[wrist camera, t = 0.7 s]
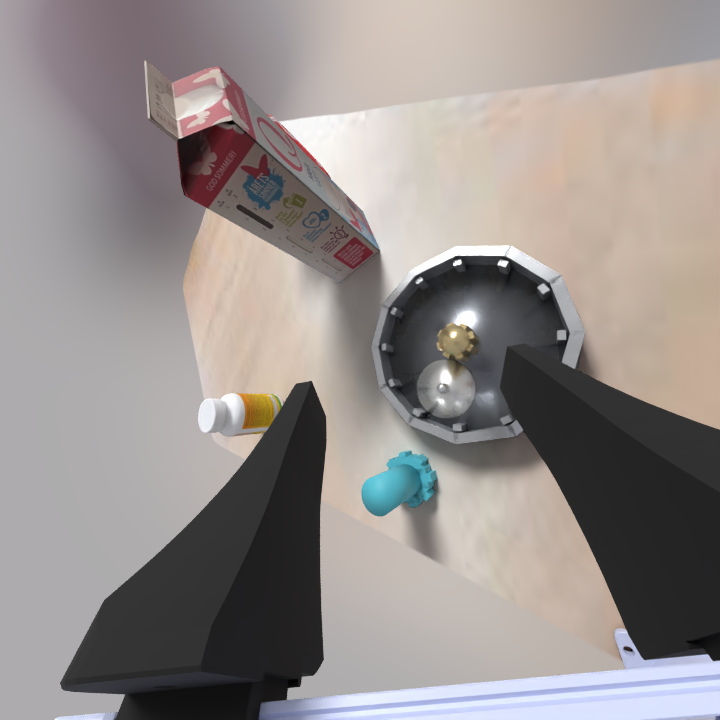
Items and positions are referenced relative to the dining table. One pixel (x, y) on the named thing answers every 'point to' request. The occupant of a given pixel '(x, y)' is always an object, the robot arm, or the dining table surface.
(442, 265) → the bowl
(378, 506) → the gear
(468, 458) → the dining table surface
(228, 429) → the supplement bottle
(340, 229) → the juice carton
